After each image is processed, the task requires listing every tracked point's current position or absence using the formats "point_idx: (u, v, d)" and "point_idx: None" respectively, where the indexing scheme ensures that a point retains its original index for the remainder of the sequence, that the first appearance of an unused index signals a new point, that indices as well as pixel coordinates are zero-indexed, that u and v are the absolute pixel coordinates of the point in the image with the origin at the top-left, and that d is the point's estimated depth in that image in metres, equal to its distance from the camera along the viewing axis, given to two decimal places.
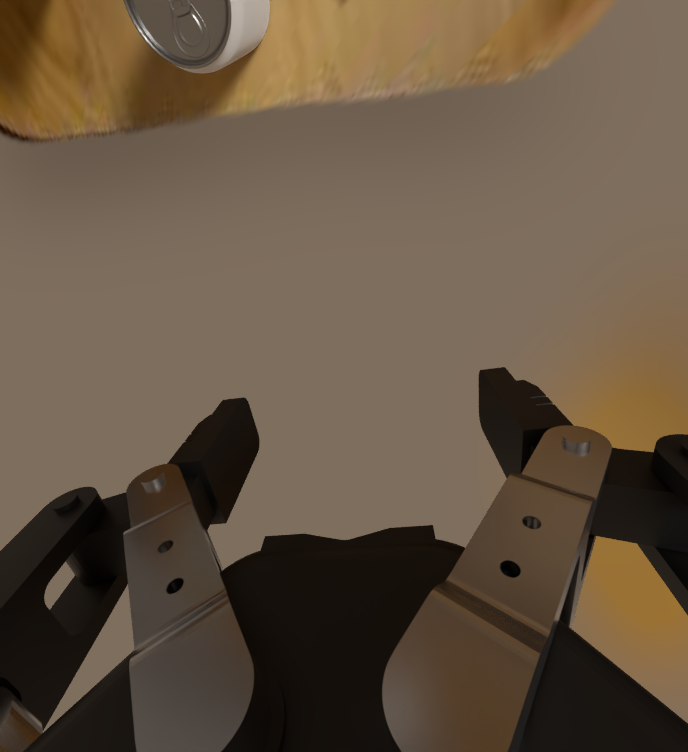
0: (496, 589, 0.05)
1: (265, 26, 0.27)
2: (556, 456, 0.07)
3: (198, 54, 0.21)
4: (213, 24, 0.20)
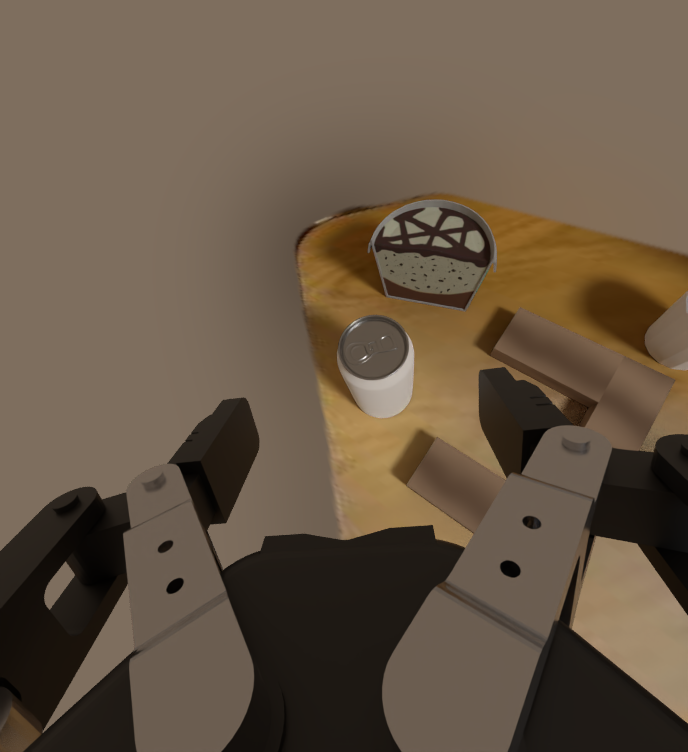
0: (496, 589, 0.05)
1: (370, 413, 0.37)
2: (556, 456, 0.07)
3: (346, 356, 0.29)
4: (363, 368, 0.28)
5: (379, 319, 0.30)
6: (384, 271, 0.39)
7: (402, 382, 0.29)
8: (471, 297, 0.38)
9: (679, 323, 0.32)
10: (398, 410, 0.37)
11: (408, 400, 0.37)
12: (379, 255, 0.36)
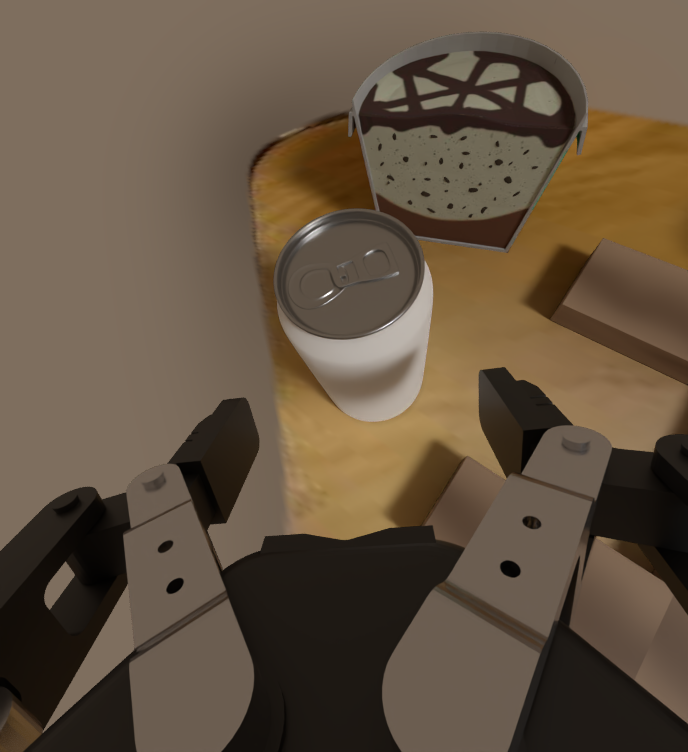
0: (496, 589, 0.05)
1: (352, 414, 0.22)
2: (556, 456, 0.07)
3: (291, 292, 0.14)
4: (325, 315, 0.13)
5: (362, 219, 0.14)
6: (377, 179, 0.23)
7: (409, 349, 0.14)
8: (521, 222, 0.23)
9: None
10: (399, 409, 0.22)
11: (416, 392, 0.22)
12: (368, 141, 0.21)
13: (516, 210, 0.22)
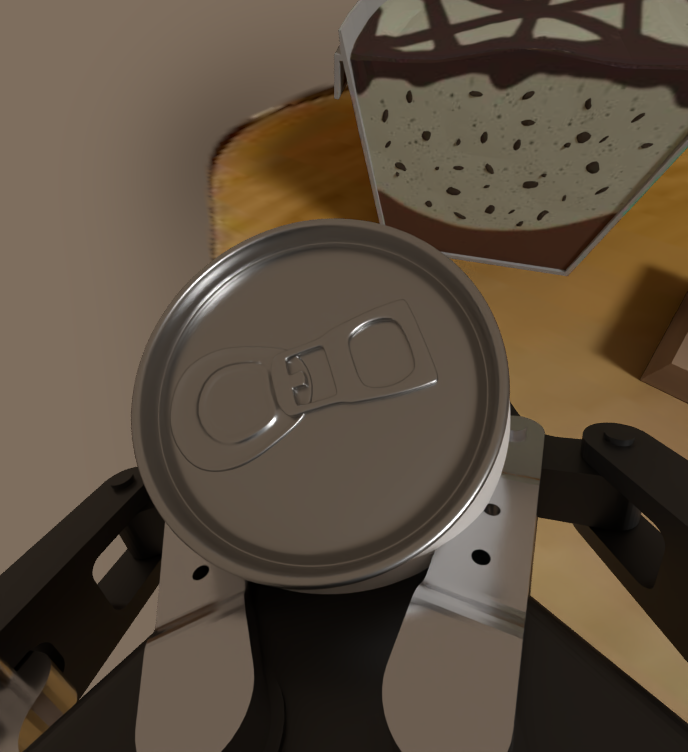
0: (472, 579, 0.05)
1: None
2: None
3: (177, 421, 0.06)
4: (250, 492, 0.05)
5: (347, 242, 0.06)
6: (381, 169, 0.16)
7: None
8: (600, 234, 0.15)
9: None
10: None
11: None
12: (367, 107, 0.13)
13: (595, 216, 0.15)
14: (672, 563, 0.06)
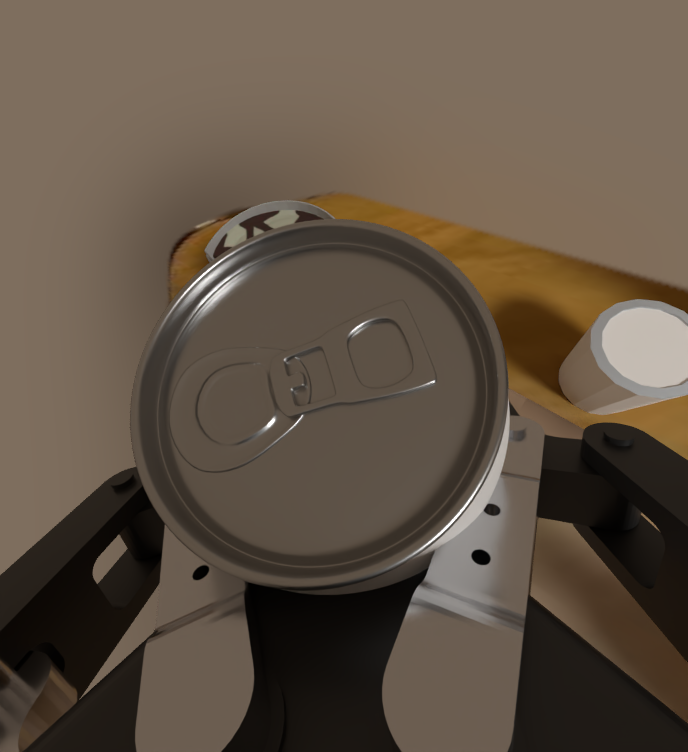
0: (472, 579, 0.05)
1: None
2: None
3: (176, 422, 0.06)
4: (249, 493, 0.05)
5: (346, 243, 0.06)
6: None
7: None
8: None
9: (585, 361, 0.24)
10: None
11: None
12: None
13: None
14: (672, 563, 0.06)
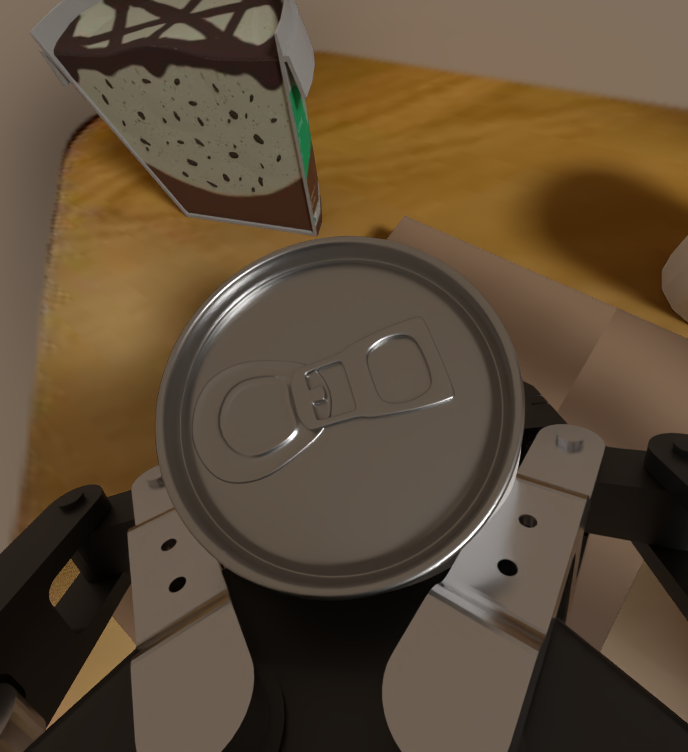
0: (494, 588, 0.05)
1: None
2: (551, 455, 0.07)
3: (199, 433, 0.06)
4: (272, 504, 0.05)
5: (364, 259, 0.07)
6: (134, 144, 0.19)
7: None
8: (307, 196, 0.19)
9: None
10: None
11: None
12: (89, 92, 0.17)
13: (293, 181, 0.18)
14: None
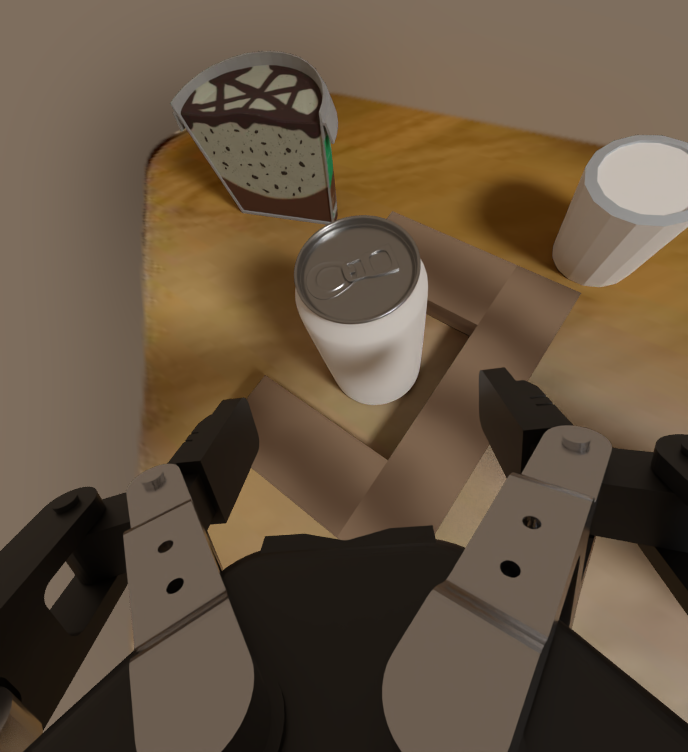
0: (496, 589, 0.05)
1: (357, 397, 0.24)
2: (556, 456, 0.07)
3: (308, 286, 0.16)
4: (337, 304, 0.16)
5: (368, 224, 0.17)
6: (217, 165, 0.30)
7: (407, 334, 0.17)
8: (329, 199, 0.29)
9: (579, 206, 0.22)
10: (399, 392, 0.24)
11: (414, 377, 0.24)
12: (196, 135, 0.27)
13: (321, 189, 0.29)
14: None
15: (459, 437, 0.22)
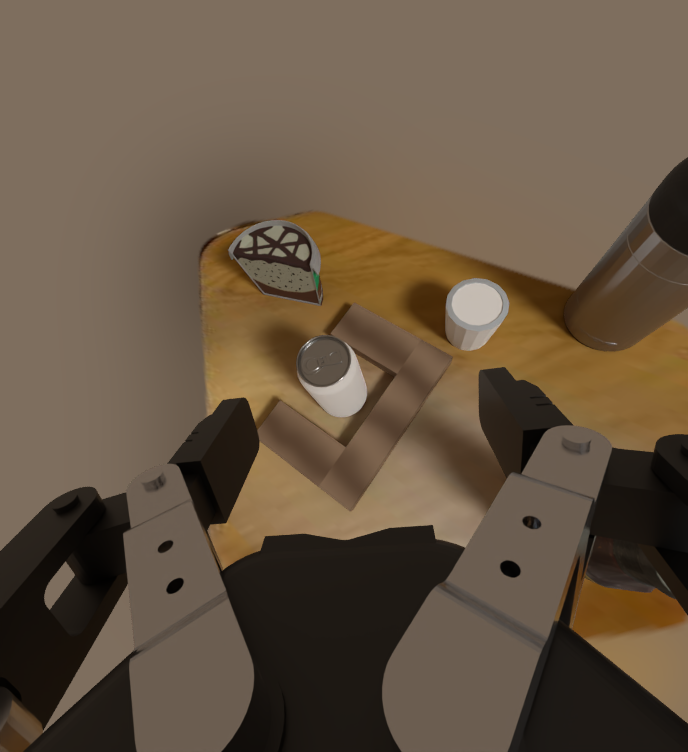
0: (497, 589, 0.05)
1: (330, 413, 0.45)
2: (556, 456, 0.07)
3: (302, 367, 0.37)
4: (315, 377, 0.36)
5: (330, 338, 0.37)
6: (251, 274, 0.50)
7: (347, 388, 0.37)
8: (317, 294, 0.49)
9: (446, 314, 0.43)
10: (353, 411, 0.44)
11: (361, 402, 0.45)
12: (240, 262, 0.47)
13: (312, 290, 0.49)
14: None
15: (383, 435, 0.43)
